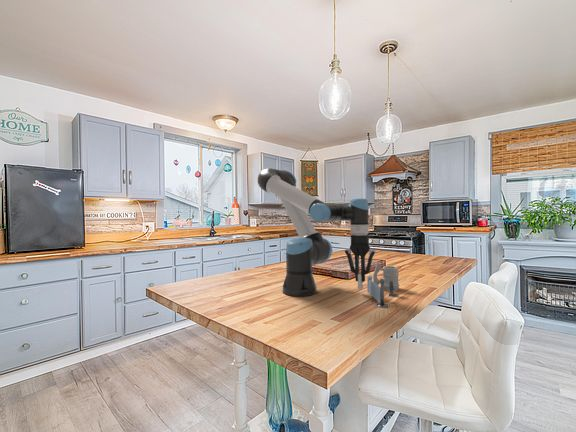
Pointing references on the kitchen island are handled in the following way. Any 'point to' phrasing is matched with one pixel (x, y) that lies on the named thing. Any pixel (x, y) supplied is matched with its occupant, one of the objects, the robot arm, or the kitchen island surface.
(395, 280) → the mug
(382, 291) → the hinge post
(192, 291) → the kitchen island surface
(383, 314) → the kitchen island surface
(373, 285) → the gate
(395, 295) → the stop post
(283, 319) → the kitchen island surface
